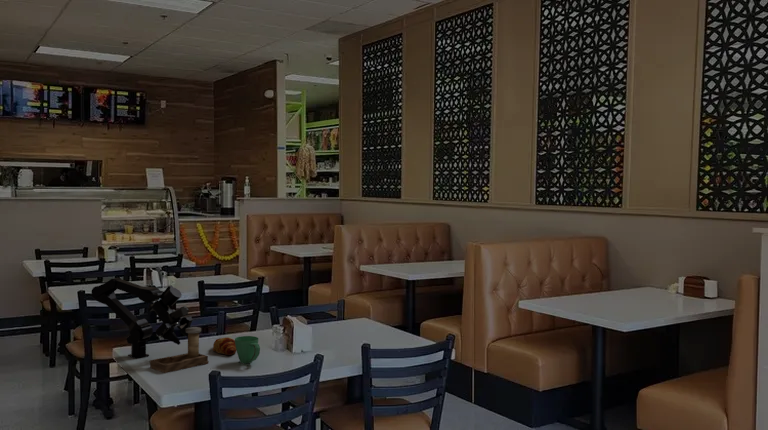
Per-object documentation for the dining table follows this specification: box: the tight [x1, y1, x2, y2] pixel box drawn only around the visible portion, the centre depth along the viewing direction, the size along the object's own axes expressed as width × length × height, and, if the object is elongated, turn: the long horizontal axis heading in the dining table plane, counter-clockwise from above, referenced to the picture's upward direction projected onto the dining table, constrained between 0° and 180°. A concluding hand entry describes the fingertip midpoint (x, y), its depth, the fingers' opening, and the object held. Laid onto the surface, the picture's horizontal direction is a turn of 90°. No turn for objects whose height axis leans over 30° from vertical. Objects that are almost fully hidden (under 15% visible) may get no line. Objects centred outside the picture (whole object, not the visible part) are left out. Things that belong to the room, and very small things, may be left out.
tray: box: [149, 352, 209, 374], centre depth 269 cm, size 20×11×3 cm, turn 140°
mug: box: [234, 335, 261, 365], centre depth 275 cm, size 15×10×10 cm
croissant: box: [212, 337, 237, 356], centre depth 294 cm, size 21×10×8 cm, turn 34°
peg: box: [186, 326, 202, 359], centre depth 273 cm, size 6×6×13 cm
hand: (186, 341), depth 274 cm, fingers open, 9 cm apart
